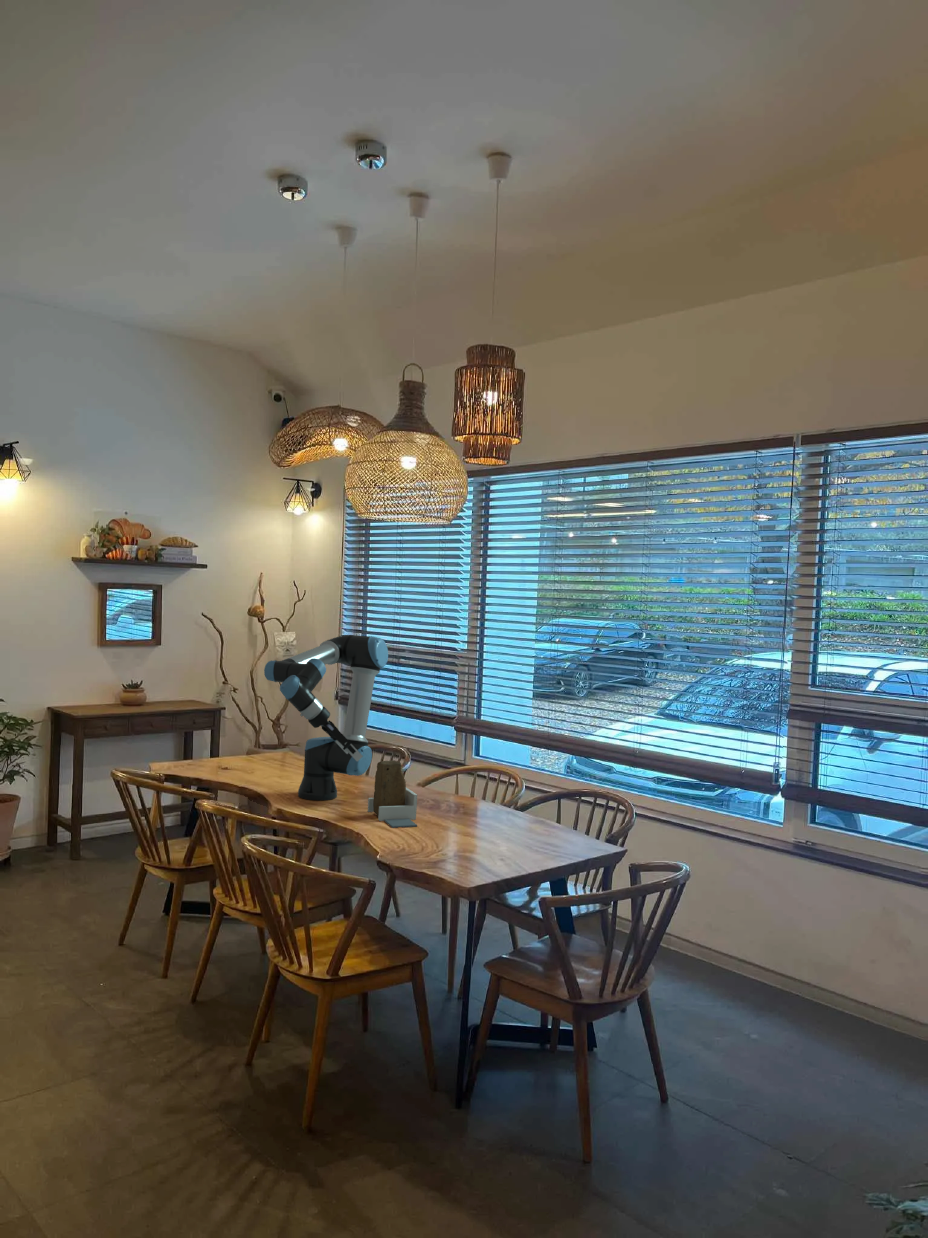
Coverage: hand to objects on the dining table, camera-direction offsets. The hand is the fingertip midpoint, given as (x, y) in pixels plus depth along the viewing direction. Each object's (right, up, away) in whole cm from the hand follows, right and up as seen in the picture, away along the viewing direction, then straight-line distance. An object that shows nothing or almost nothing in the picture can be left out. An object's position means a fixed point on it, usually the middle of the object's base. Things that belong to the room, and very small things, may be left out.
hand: (354, 755), depth 316 cm
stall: (+12, -23, +9) cm, 28 cm away
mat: (+16, -24, -2) cm, 29 cm away
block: (+11, -24, +9) cm, 28 cm away
